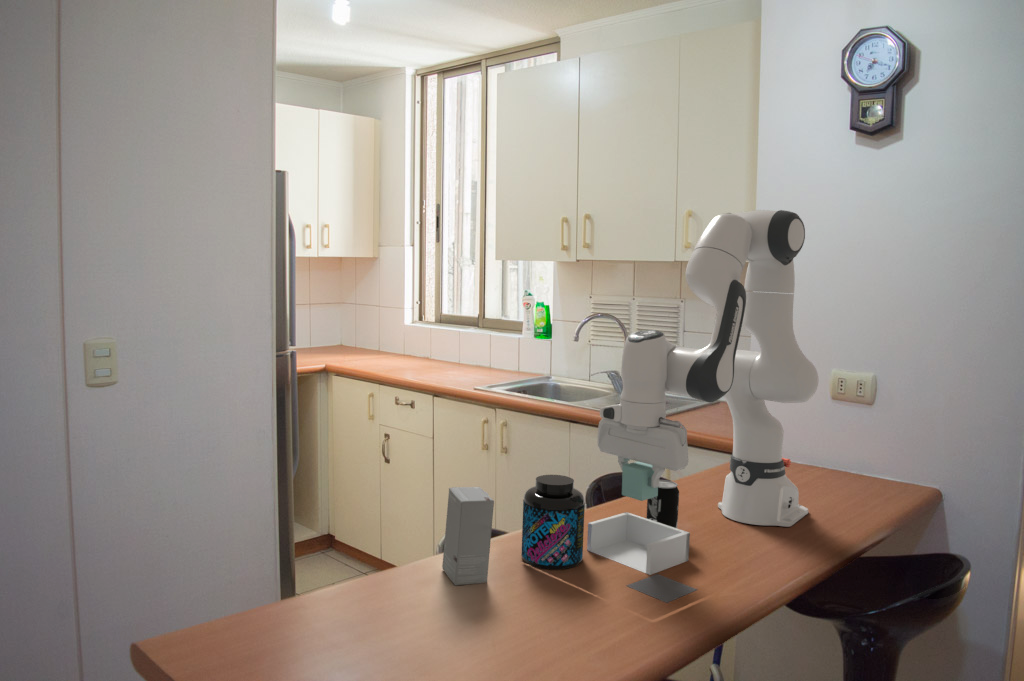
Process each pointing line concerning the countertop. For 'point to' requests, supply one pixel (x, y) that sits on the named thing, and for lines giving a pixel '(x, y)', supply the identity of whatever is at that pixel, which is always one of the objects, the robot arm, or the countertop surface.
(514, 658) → the countertop surface
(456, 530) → the skincare box
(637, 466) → the block
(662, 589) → the mat
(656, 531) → the bin
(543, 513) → the container
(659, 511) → the beverage can
